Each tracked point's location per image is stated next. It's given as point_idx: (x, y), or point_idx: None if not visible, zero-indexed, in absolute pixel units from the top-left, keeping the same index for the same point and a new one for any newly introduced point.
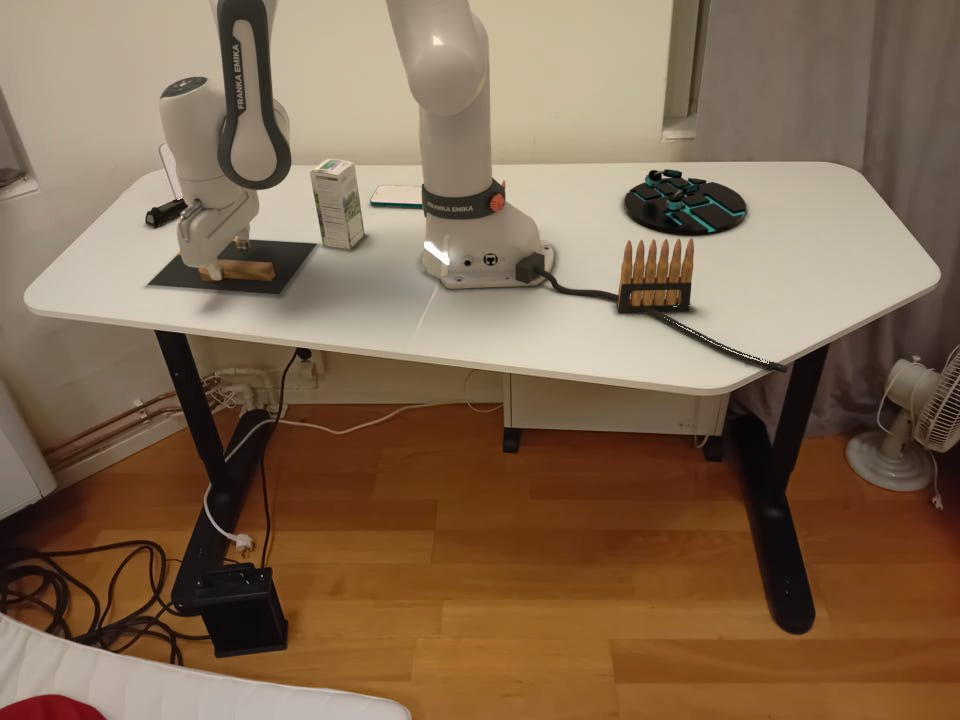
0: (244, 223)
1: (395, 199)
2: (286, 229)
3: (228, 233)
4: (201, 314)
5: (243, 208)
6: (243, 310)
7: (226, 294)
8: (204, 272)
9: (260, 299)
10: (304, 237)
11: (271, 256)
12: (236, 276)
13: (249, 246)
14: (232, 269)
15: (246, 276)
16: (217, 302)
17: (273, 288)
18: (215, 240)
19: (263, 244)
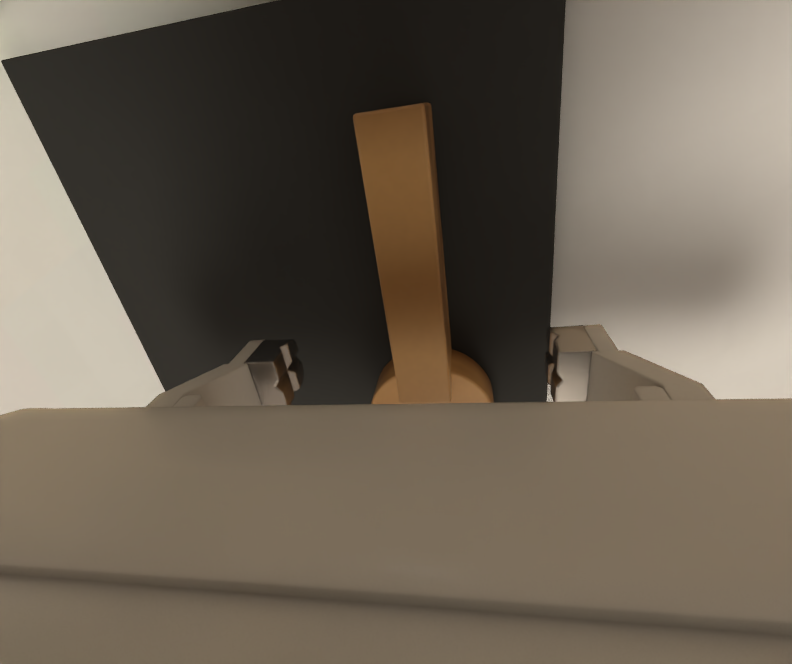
0: (192, 424)
1: None
2: (24, 302)
3: (451, 462)
4: (750, 305)
5: (61, 523)
6: (731, 104)
7: (564, 283)
8: None
9: (604, 67)
10: (11, 186)
11: (223, 243)
12: (447, 301)
13: (257, 341)
14: (446, 329)
15: (442, 251)
16: (639, 288)
17: (502, 33)
18: (762, 518)
19: (165, 328)
